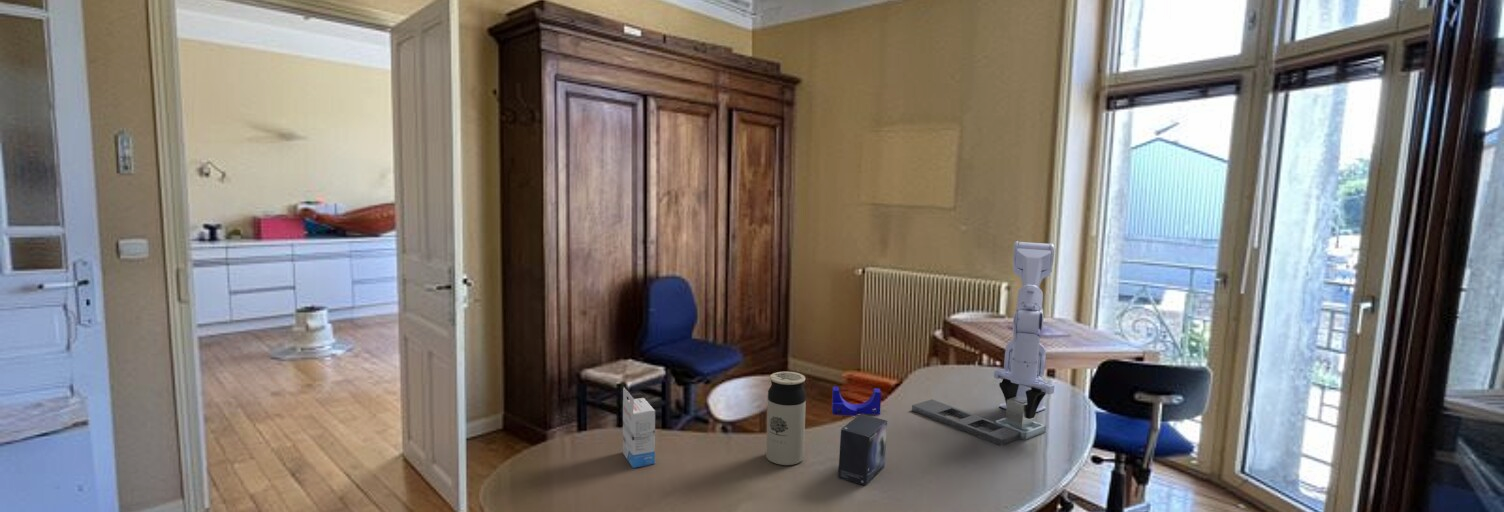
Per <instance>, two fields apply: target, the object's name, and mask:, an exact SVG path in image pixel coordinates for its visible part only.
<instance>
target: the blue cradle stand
mask: <svg viewBox="0 0 1504 512" xmlns="http://www.w3.org/2000/svg"><path fill="white" fill-rule="evenodd" d="M872 390H873V391H872V394H871V396H870V397H869V399H867V400H866V401H864V402H863V403H858V404H854V403H850V402H848V401H846V400H845V399H844V398H843V397H842V396H841V393H840V387H839V386H832V394H831V395H832V398H831V411H832V415H833V416H834V415H835V416H836V415H837V416H852V417H853V416H856V417H858V415H860V414H864V415H878V416H879V415H881V406H882V405H881V403H882V400H881V399H882V391H881V389H880V388H873V389H872Z"/></svg>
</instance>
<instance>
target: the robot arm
mask: <svg viewBox="0 0 1504 512" xmlns="http://www.w3.org/2000/svg"><path fill="white" fill-rule="evenodd" d="M1054 257H1055V244H1053V242H1052V243H1051V242H1050V243H1043V242H1042V243H1040V242H1026V241H1019V240H1017V241H1015V242H1014V243H1013V252H1012V270H1013V274H1015V275H1017V276H1018V277H1019V278H1020V281H1021V287H1020V288H1019V289H1018V290H1017V297H1016V308H1015V309H1016V310H1015V311H1014V312H1013V318H1012V319H1013V321H1012V335H1013V336H1012V338H1013V339H1012V340H1010V341H1009V342H1007V344H1006V348H1005V352H1004V363H1003V369H1000V368H998V369H996V370H995V369H994V371H993V372H994V373H993V374H994V375H993V378H994V379H997V380H999V379H1000V380H1001V382H999V384H998V386H999V388H1000V389H1001V392H1002V394H1003V397H1004V400H1005V402H1004V403H1001V404H999V405H998V407H999V408H1003V409H1005V410H1006V405H1007V399H1010V398H1013V397H1017V396H1019V397H1022V398H1025V399H1027V418H1028V419H1031V418H1033V419H1034V418H1035V415H1036V413H1038V412H1040V411H1044V410H1046V409H1047V407H1046V406H1044V398H1045V396H1046V395H1053V394H1054V393H1055V385H1054V384H1051V383H1049V382H1047V381H1044V379H1043V377H1044V376H1045V369H1046V351H1047V350H1046V348H1045V346H1044V345H1043V344H1042V343H1041V342H1040V341H1041V336H1042V334H1043V329H1044V319H1045V318H1044V317H1045V316H1044V309H1043V302H1044V301H1043V298H1044V293H1043V290H1042V289H1041V288H1040V285H1041V283H1042V281H1043V279H1046V278H1048V277H1050V276H1051V273H1052V270H1053V269H1052V268H1053V266H1054ZM1039 331H1040V333H1039Z"/></svg>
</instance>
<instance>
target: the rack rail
mask: <svg viewBox="0 0 1504 512" xmlns="http://www.w3.org/2000/svg"><path fill="white" fill-rule="evenodd" d="M911 411H913V412H914V413H915V412H916V413H917V414H920V415H923V416H925V417H928V418H930V419H933V420H936V421H938V422H941V423H943V424H946V425H948V426H950V427H953V428H956V429H958V430H961V431H963V432H965V433H969V434H971V435H973V436H975V437H979V438H981V439H983V440H987V441H989V442H992V443H994V444H996V445H999V446H1004V445H1007V444H1009V443H1011V442H1013V441H1016V440H1019V439H1022V438H1021V432H1019V431H1016V430H1013V429H1011V428H1008V427H1005V426H1002V425H1000V424H997V423H994V421H993V420H990V419H987V418H984V417H982V416H978V415H976V414H974V413H971V412H968V411H965V410H962V409H960V408H957V407H954V406H951V405H949V404H945V403H943V402H941V401H937V400H935V399H929V400H925V401H922V402H918V403H914V404H912V405H911ZM951 414H952V415H955V416H958V417H960V419H957V420H956V419H954V418H951V417H950V416H949V417H948V416H947V415H951ZM979 426H983V427H986V428H989V429H991V430H992V431H990V432H988V431H986V430H982V429H980V428H977V427H979Z"/></svg>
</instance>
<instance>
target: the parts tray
mask: <svg viewBox="0 0 1504 512" xmlns="http://www.w3.org/2000/svg"><path fill="white" fill-rule="evenodd" d="M993 422H994V423H997V424H1000V425H1002V426H1005V427H1008V428H1011V429H1013V430H1016V431H1019V432H1021V438H1020V439H1022V440H1025V441H1026V440H1028V439H1031V438H1033V437H1036V436H1039V435H1041V434H1044V433H1046V430H1047V425H1045V424H1042V423H1040V422H1037V421H1035V420H1033V426H1030V427H1027V428H1025V429H1019V428H1016V427H1014V426H1011V425H1008V424H1006V423H1005V417H1003V418H1000V419H997V420H994V421H993Z"/></svg>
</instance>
